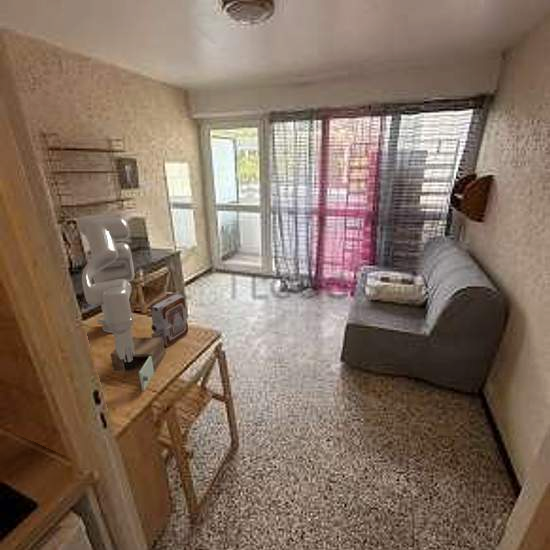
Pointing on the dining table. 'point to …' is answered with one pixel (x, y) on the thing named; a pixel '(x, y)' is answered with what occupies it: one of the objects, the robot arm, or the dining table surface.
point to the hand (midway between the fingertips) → (130, 368)
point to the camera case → (141, 354)
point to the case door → (146, 373)
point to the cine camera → (169, 319)
